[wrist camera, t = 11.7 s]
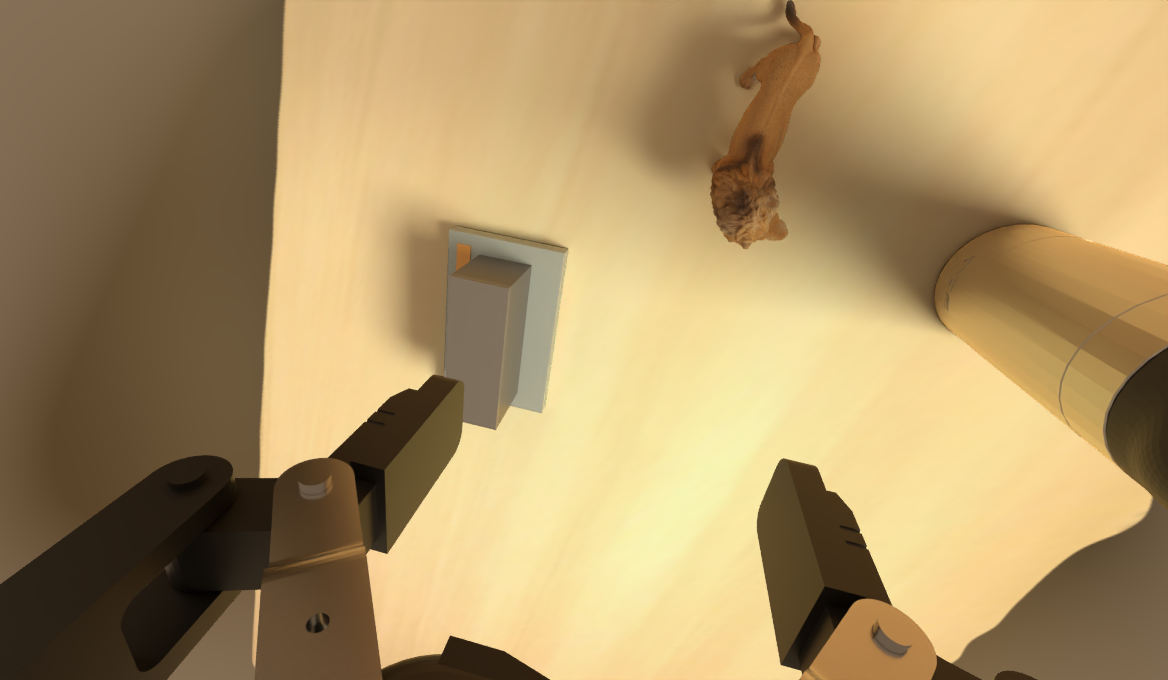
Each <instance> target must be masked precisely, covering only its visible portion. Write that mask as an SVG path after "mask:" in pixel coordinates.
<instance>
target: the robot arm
mask: <svg viewBox="0 0 1168 680" xmlns="http://www.w3.org/2000/svg"><path fill="white" fill-rule="evenodd" d="M934 300H935V307H936V311H937V313H938V316H939V318H940V320H941V321H942V322H943V323H944V325H945V326H946V327H947V328H948V329H949V330H950V331H952V332H953V333H954V334H955V335H957V336H958V337H959V338H960V339H961V340H963V341H964V342H965V343H966V344H968V345H969V346H970V347H971V348H972V349H973V350H975V351H976V352H977V353H978V354H979V355H981V356H982V357H983V358H984V359H986V360H987V361H988V362H989V363H990V364H992V365H993V366H994V367H995V368H997V369H998V370H999V371H1000V372H1001V373H1003V374H1004V375H1005V376H1006V377H1008V378H1009V379H1010V380H1011V381H1013V382H1014V383H1015V384H1016V385H1017V386H1019V387H1020V388H1021V389H1022V390H1024V391H1025V392H1026V393H1027V394H1029V395H1030V396H1031V397H1032V398H1033V399H1035V400H1036V401H1037V402H1038V403H1040V404H1041V405H1042V406H1043V407H1044V408H1046V409H1047V410H1048V411H1049V412H1051V413H1052V414H1053V415H1054V416H1056V417H1057V418H1058V419H1059V420H1060V421H1062V422H1063V423H1064V424H1065V425H1067V426H1068V427H1069V428H1070V429H1072V430H1073V431H1074V432H1075V433H1076V434H1078V435H1079V436H1080V437H1082V438H1083V439H1084V440H1085V441H1087V442H1088V443H1089V444H1090V445H1092V446H1093V447H1094V448H1095V449H1097V450H1098V451H1099V452H1100V453H1101V454H1103V455H1104V456H1105V457H1106V458H1108V459H1109V460H1110V461H1111V462H1113V463H1114V464H1115V465H1116V466H1117V467H1119V468H1120V469H1121V470H1122V471H1124V472H1125V473H1126V474H1127V475H1129V476H1130V477H1131V478H1132V479H1134V480H1135V481H1136V482H1137V483H1139V484H1140V485H1141V486H1142V487H1144V488H1145V489H1146V490H1147V491H1148V492H1149V493H1150V494H1151V495H1152V496H1153V497H1154V498H1155V499H1156V500H1157V501H1158V502H1159V503H1160V504H1161V505H1162V506H1164V507H1165V508H1166V509H1167V510H1168V265H1165V264H1162V263H1159V262H1156V261H1152V260H1149V259H1146V258H1143V257H1140V256H1137V255H1133V254H1130V253H1127V252H1124V251H1121V250H1118V249H1114V248H1111V247H1108V246H1105V245H1102V244H1099V243H1095V242H1092V241H1090V240H1087V239H1084V238H1081V237H1077V236H1074V235H1071V234H1068V233H1065V232H1061V231H1058V230H1055V229H1052V228H1049V227H1044V226H1039V225H1034V224H1016V225H1011V226H1005V227H1000V228H998V229H995V230H992V231H989V232H986V233H984V234H982V235H981V236H979V237H977V238H975V239H973V240H971V241H970V242H969V243H967V244H966V245H965V246H963V247H962V248H961V249H960V250H958V251H957V252H956V253H955V255H954V256H953V257H952V258H951V259H950V260H949V261H948V262H947V264H946V266H945V267H944V269H943V270H942V272H941V273H940V276H939V279H938V281H937V284H936V288H935V296H934ZM463 405H464V383H463V381H460V380H456V379H451V378H447V377H443V376H439V375H432V376H431V377H430V378H429V379H428V380H427V381H426V382H425V383H424V384H423V385H422V386H421V387H420V388H419V390H418V391H417V390H413V389H407V390H405V391H402V392H400V393H398V394H396V395H394V396H392V397H390V398H389V399H388V400H387V401H386V402H385V403H384V404H383V405H382V406H381V407H380V408H379V409H378V411H377V412H375V413H374V414H372V415H371V416H370V417H369V418H368V419H367V422H364V423H363V424H362V425H361V426H360V427H359V428H358V429H357V430H356V431H355V432H354V433H353V434H352V435H351V436H350V437H349V438H348V439H347V440H346V441H345V442H344V443H343V444H342V445H341V446H339V447H338V448H337V449H336V450H335V451H334V452H333V453H332V454H331V455H330V456H329V457H328V458H317V459H311V460H307V461H304V462H301V463H299V464H296V465H294V466H293V467H291V468H289V469H288V470H286V471H285V472H284V473H283V474H282V475H281V476H280V477H279V478H235V477H234V472H233V468H232V465H231V464H230V462H228V461H227V460H225V459H223V458H221V457H217V456H208V455H203V456H193V457H188V458H184V459H180V460H177V461H174V462H171V463H169V464H167V465H165V466H163V467H161V468H159V469H158V470H156V471H154V472H153V473H151V474H150V475H149V476H147V477H146V478H145V479H143V480H142V481H141V482H139V483H138V484H136V485H135V486H134V487H132V488H131V489H130V490H128V491H127V492H126V493H124V494H123V495H121V496H120V497H119V498H117V499H116V500H115V501H113V502H112V503H111V504H109V505H108V506H106V507H105V508H104V509H102V510H101V511H100V512H98V513H97V514H96V515H94V516H93V517H92V518H90V519H89V520H87V521H86V522H85V523H83V524H82V525H81V526H79V527H78V528H77V529H75V530H74V531H72V532H71V533H70V534H68V535H67V536H66V537H64V538H63V539H62V540H61V541H59V542H58V543H56V544H55V545H53V546H52V547H51V548H49V549H48V550H47V551H45V552H44V553H42V554H41V555H40V556H38V557H37V558H36V559H34V560H33V561H32V562H30V563H29V564H27V565H26V566H25V567H23V568H22V569H21V570H19V571H18V572H17V573H15V574H14V575H13V576H11V577H10V578H8V579H7V580H6V581H4V582H3V583H2V584H0V680H167V679H168V678H169V676H170V675H171V674H172V673H173V672H174V670H175V669H176V668H177V667H178V666H179V664H180V663H181V662H182V661H183V660H184V659H185V657H186V656H187V655H188V654H189V653H190V651H191V650H192V649H193V648H194V647H195V646H196V644H197V643H198V642H199V641H200V640H201V638H202V637H203V636H204V635H205V634H206V633H207V631H208V630H209V629H210V628H211V627H212V625H213V624H214V623H215V622H216V621H217V619H218V618H219V617H220V616H221V615H222V613H223V612H224V611H225V610H226V609H227V608H228V606H229V605H230V604H231V603H232V602H233V601H234V599H235V598H236V597H237V596H238V595H239V593H240V592H241V591H242V590H259V589H261V596H260V610H259V624H258V638H257V652H256V665H255V680H550V679H548V678H546V677H545V676H543V675H542V674H540V673H538V672H537V671H535V670H534V669H532V668H530V667H529V666H527V665H526V664H524V663H522V662H521V661H519V660H518V659H516V658H514V657H513V656H511V655H509V654H508V653H506V652H505V651H501V650H498V649H495V648H491V647H488V646H484V645H481V644H477V643H474V642H470V641H467V640H464V639H460V638H457V637H453V636H450V637H449V639H448V642H447V644H446V646H445V648H444V651H443V653H442V654H434V655H425V656H418V657H414V658H410V659H406V660H403V661H400V662H397V663H395V664H392V665H389V666H387V667H385V668H383V669H381V664H380V656H379V649H378V641H377V633H376V626H375V618H374V610H373V603H372V595H371V587H370V580H369V572H368V564H367V557H366V554H367V553H368V551H369V550H370V549H372V550H375V551H379V552H382V553H386V554H387V553H388V552H389V551H390V549H391V548H392V546H393V545H394V543H395V542H396V540H397V539H398V537H399V536H400V534H401V533H402V531H403V530H404V528H405V527H406V525H407V524H408V522H409V521H410V519H411V518H412V516H413V515H414V513H415V512H416V510H417V509H418V507H419V506H420V504H421V503H422V501H423V500H424V498H425V497H426V495H427V494H428V492H429V491H430V489H431V488H432V486H433V485H434V484H435V482H436V481H437V479H438V478H439V476H440V475H441V473H442V472H443V470H444V469H445V467H446V466H447V464H448V463H449V461H450V460H451V458H452V457H453V455H454V454H455V452H456V450H457V447H458V445H459V442H460V438H461V434H462V422H463ZM757 534H758V539H759V545H760V550H761V556H762V562H763V567H764V573H765V579H766V584H767V590H768V596H769V601H770V607H771V613H772V618H773V624H774V630H775V635H776V641H777V646H778V652H779V658H780V663H781V665H783V666H786V667H790V668H794V669H797V670H801V671H802V676H801V678H800V679H799V680H981V679H979V678H978V677H975V676H974V675H972V674H970V673H968V672H966V671H964V670H962V669H960V668H959V667H956V666H955V665H953V664H951V663H949V662H947V661H945V660H944V659H942V658H940V657H939V656H937V655H936V653H935V650H934V648H933V645H932V643H931V642H930V640H929V638H928V637H927V636H926V634H925V633H924V632H923V630H922V629H921V628H920V627H919V626H918V625H917V624H916V623H915V622H914V621H913V620H912V619H911V618H909V617H908V616H907V615H906V614H904V613H903V612H901V611H900V610H898V609H897V608H895V607H893V606H892V604H891V602H890V599H889V597H888V595H887V592H886V590H885V588H884V585H883V583H882V581H881V578H880V576H879V573H878V571H877V569H876V566H875V564H874V562H873V559H872V557H871V555H870V552H869V550H867V549H866V546H867V545H866V543H865V541H864V538H863V536H862V534H860V529H859V526H858V524H857V522H856V519H855V517H854V515H853V512H852V511H851V509H850V508H849V507H848V506H847V505H846V504H845V503H844V501H843V500H842V499H841V498H840V497H839V496H838V495H837V493H834V492H830V491H826V489H825V486H824V483H823V481H822V478H821V475H820V473H819V470H818V468H817V467H816V466H813V465H809V464H805V463H801V462H796V461H792V460H788V459H781V460H780V461H779V463H778V465H777V467H776V469H775V472H774V474H773V476H772V479H771V481H770V484H769V486H768V488H767V491H766V493H765V495H764V498H763V500H762V502H761V505H760V508H759V512H758V517H757ZM150 581H151V582H150ZM149 582H150V583H149ZM148 583H149V584H148ZM147 584H148V585H147ZM146 585H147V586H146ZM145 586H146V587H145ZM993 680H1037V679H1034V678H1033V677H1031V676H1028V675H1025V674H1023V673H1019V672H1015V671H1003V672H1000V673H998V674H997V676H996V677H995V678H994V679H993Z"/></svg>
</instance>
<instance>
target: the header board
mask: <svg viewBox="0 0 1168 680" xmlns="http://www.w3.org/2000/svg"><path fill="white" fill-rule="evenodd" d="M567 254H568V249H566V248H561V247H556V246H552V245H547V244H542V243H537V242H532V241H527V240H523V239H518V238H513V237H508V236H503V235H498V234H493V233H489V232H484V231H479V230H474V229H469V228H464V227H460V226H455V227H453V228H451V229H449V248H448V277H447V305H446V334H445V363H444V377H446V350H447V322H448V294H449V276H450V275H451V274H452V273H454V272H455V271H457V270H458V269H460V268H461V267H462V266H464V265H465V264H467V263H468V262H470V261H471V260H473V259H474V258H475V257H477V256H478V255H484V256H489V257H494V258H499V259H503V260H508V261H513V262H518V263H522V264H527V265H532V269H531V277H530V286H529V295H528V304H527V313H526V321H525V330H524V339H523V348H522V357H521V365H520V374H519V383H518V392H517V395H516V396H515V398H514V400H513V401H512V403H511V405H510V406H514V407H518V408H522V409H526V410H530V411H534V412H538V413H542V411H543V409H544V407H545V405H546V398H547V391H548V384H549V377H550V370H551V364H552V357H553V350H554V343H555V336H556V329H557V322H558V315H559V309H560V302H561V295H562V288H563V281H564V274H565V267H566V261H567Z"/></svg>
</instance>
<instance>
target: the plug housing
mask: <svg viewBox="0 0 1168 680" xmlns="http://www.w3.org/2000/svg"><path fill="white" fill-rule="evenodd" d="M531 269H532V265H527V264H522V263H518V262H513V261H508V260H503V259H499V258H494V257H489V256H484V255H478V256H477V257H475V258H474V259H473V260H471V261H470V262H468V263H467V264H465V265H464V266H462V267H461V268H460V269H458V270H457V271H455V272H454V273H452V274H451V275H450V276H449V294H448V322H447V350H446V377H447V378H451V379H456V380H460V381H463V383H464V405H463V422H465V423H469V424H473V425H477V426H481V427H486V428H490V429H494V430H496V428H497V427H498V425H499V423H500V422H501V420H502V418H503V417H504V415H505V413H506V411H507V410H508V408H509V406H510V405H511V403H512V401H513V400H514V398H515V396H516V395H517V392H518V383H519V374H520V365H521V357H522V348H523V339H524V330H525V321H526V313H527V304H528V295H529V286H530V277H531Z"/></svg>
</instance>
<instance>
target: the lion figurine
mask: <svg viewBox="0 0 1168 680" xmlns="http://www.w3.org/2000/svg"><path fill="white" fill-rule="evenodd" d="M785 13H786V18H787V20H788V21H789V23H790V25H791V26H792V27H793V28H794V29H795V30H796V31H797V32H798V33H799V34H800V35H801V37H802V38H801V40H800V41H799V42H798V43H797V44H794V43H791V44H787V45H784V46H782V47H779V48H777V49H775V50H773V51H772V52H771V53H769V54H768V55H767V56H766V57H764V58H763V59H761V60H760V61H759V62H758V63H757V64H756V65H755V66H753V67H751V68H750V69H748V70H747V71H746V72H745V73H743V75H742V76H741V78H740V84H741V86H742V87H743V88H745V89H752V88H753V87H754V86H755V85H756V83H757V82H758V81H760V83H761V88H760V90H759V92H758V94H757V95H756V97H755V98H754V100H753V101H752V102H751V104H750V105H749V107H748V108H747V110H746V111H745V113H744V115H743V117H742V119H741V121H740V123H739V125H738V127H737V129H736V131H735V133H734V135H733V138H732V141H731V144H730V148H729V153H728V155H727V156H725V157H724V158H723V159H721V160H719V161H717V162H716V163H715V164H714V165H713V167H712V171H713V174H714V175H713V177H712V186H711V190H712V191H711V197H712V205H713V209H714V215H715V216H716V217H717V225H718V227H720V230H721V231H722V232H723V234H724V236H725V237H726V238H727V239H728V241H729V242H736V243H738V244H740V245H742V247H743V248H744V249H748V248H749V246H750V245H751V243H752V242H755V241H756V240H764V239H768V240H771V241H776V240H782V239H784V238H785V237H786V236H787V234H788V229H787V228H786V225H785V223H784V222H783V221H782V220H780V219H779V217H778V214H777V212H776V211H777V208H778V205H779V200H778V195H777V194H776V190H775V188H774V187H775V181H774V179H773V177H772V175H773V172H774V163H773V159H774V158H775V156H776V154H777V152H778V150H779V148H780V147H781V144H782V142H783V139H784V136H785V133H786V130H787V127H788V123H789V120H790V115H791V112H792V109H793V106H794V105H795V103H796V101H797V100H798V99H799V98H800V97H801V96H802V94H803V93H804V92H805V91H806V90H807V89H809V88H810V86H811V85H812V83H813V82H814V79H815V77H816V74H817V72H818V70H819V66H820V55H819V53H818V49H819V47H820V42H821V41H820V38H819V37H818V36H816V35H814V34H813V30H812V28H811V27H810V26H809V25H807V24H805V23H803V22H801V21H800V20H799V18H798V17H797V16H796V10H795V5H794V3H793V1H792V0H788V1H787V4H786V11H785Z"/></svg>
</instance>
